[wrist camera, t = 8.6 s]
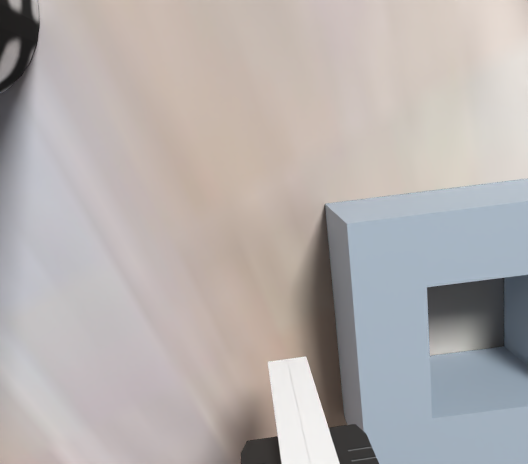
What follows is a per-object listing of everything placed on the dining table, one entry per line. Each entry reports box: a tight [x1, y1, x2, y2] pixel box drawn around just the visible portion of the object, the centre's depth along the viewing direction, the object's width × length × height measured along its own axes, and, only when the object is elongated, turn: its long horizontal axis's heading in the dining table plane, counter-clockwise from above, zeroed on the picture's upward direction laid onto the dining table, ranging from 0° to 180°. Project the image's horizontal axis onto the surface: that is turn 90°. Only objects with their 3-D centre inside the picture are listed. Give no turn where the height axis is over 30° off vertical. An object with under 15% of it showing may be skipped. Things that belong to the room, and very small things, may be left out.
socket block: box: [325, 179, 528, 464], centre depth 21 cm, size 12×12×5 cm
